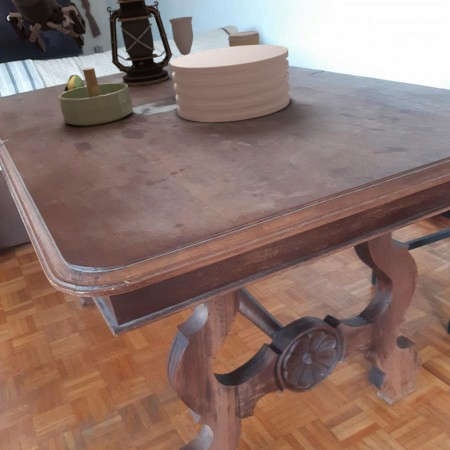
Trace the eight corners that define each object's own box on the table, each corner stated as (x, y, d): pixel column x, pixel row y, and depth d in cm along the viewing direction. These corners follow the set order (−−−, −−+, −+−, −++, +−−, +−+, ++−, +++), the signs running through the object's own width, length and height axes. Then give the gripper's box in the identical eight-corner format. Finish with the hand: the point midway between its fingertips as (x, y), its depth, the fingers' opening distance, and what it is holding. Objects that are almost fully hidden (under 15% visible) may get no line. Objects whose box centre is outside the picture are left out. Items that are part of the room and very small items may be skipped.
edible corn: (86, 87, 161) (82, 72, 159) (80, 99, 145) (76, 83, 142) (71, 89, 161) (67, 74, 158) (64, 102, 145) (59, 86, 142)
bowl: (61, 131, 116) (53, 103, 112) (69, 114, 130) (62, 88, 126) (133, 120, 117) (127, 92, 113) (133, 104, 131) (128, 79, 127)
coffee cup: (236, 74, 152) (233, 32, 145) (264, 73, 149) (262, 30, 142) (227, 81, 145) (223, 36, 138) (257, 79, 142) (254, 34, 135)
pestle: (87, 119, 121) (75, 72, 114) (89, 113, 125) (78, 68, 119) (109, 115, 121) (98, 68, 115) (110, 110, 125) (100, 65, 119)
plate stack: (200, 94, 133) (194, 49, 127) (299, 90, 125) (298, 41, 118) (159, 123, 112) (150, 70, 105) (275, 120, 103) (273, 63, 97)
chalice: (177, 86, 147) (167, 19, 136) (199, 82, 147) (191, 16, 137) (180, 90, 141) (170, 20, 130) (202, 87, 141) (194, 17, 131)
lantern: (114, 89, 153) (89, -23, 136) (118, 80, 166) (96, -23, 148) (176, 81, 153) (159, -31, 136) (175, 73, 166) (160, -31, 149)
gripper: (63, -35, 89) (93, 28, 105) (-10, -26, 90) (31, 35, 106) (63, 0, 88) (94, 58, 104) (-11, 9, 89) (31, 65, 105)
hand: (62, 47), depth 105 cm, fingers open, 8 cm apart
